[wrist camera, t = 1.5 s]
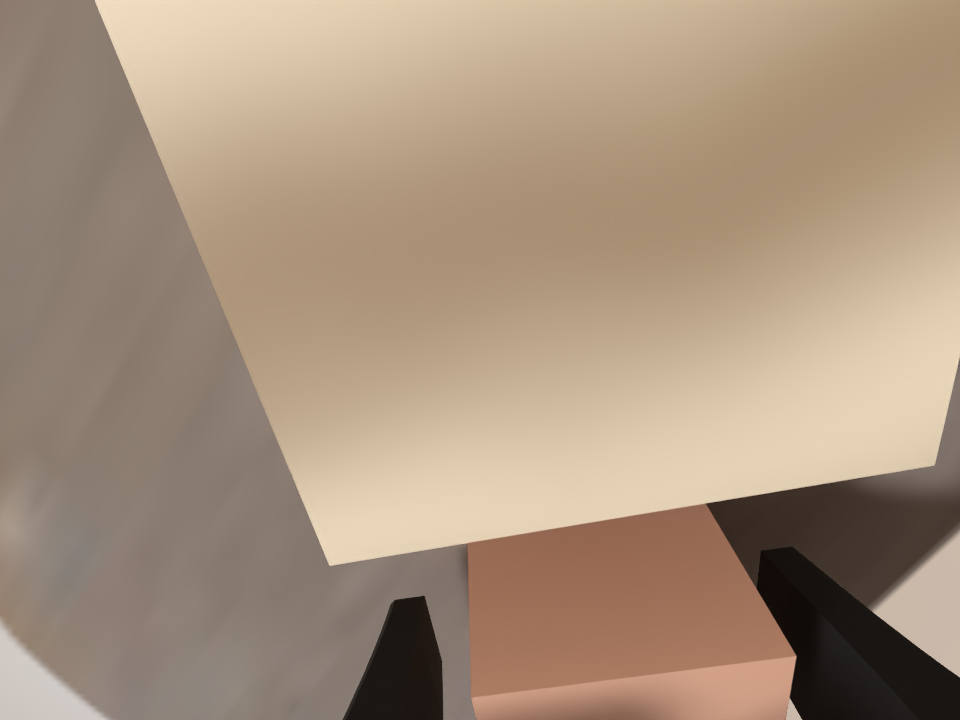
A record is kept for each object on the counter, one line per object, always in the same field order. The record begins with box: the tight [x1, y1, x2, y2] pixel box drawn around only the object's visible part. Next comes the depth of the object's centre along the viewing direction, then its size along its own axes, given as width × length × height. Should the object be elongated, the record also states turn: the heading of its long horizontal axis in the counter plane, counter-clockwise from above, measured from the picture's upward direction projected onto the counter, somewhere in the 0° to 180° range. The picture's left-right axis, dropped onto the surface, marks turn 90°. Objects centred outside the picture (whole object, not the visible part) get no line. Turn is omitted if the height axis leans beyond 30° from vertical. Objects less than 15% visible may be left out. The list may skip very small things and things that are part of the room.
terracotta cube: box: [468, 503, 796, 720], centre depth 11 cm, size 4×4×4 cm
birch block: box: [95, 0, 960, 566], centre depth 7 cm, size 8×8×4 cm
